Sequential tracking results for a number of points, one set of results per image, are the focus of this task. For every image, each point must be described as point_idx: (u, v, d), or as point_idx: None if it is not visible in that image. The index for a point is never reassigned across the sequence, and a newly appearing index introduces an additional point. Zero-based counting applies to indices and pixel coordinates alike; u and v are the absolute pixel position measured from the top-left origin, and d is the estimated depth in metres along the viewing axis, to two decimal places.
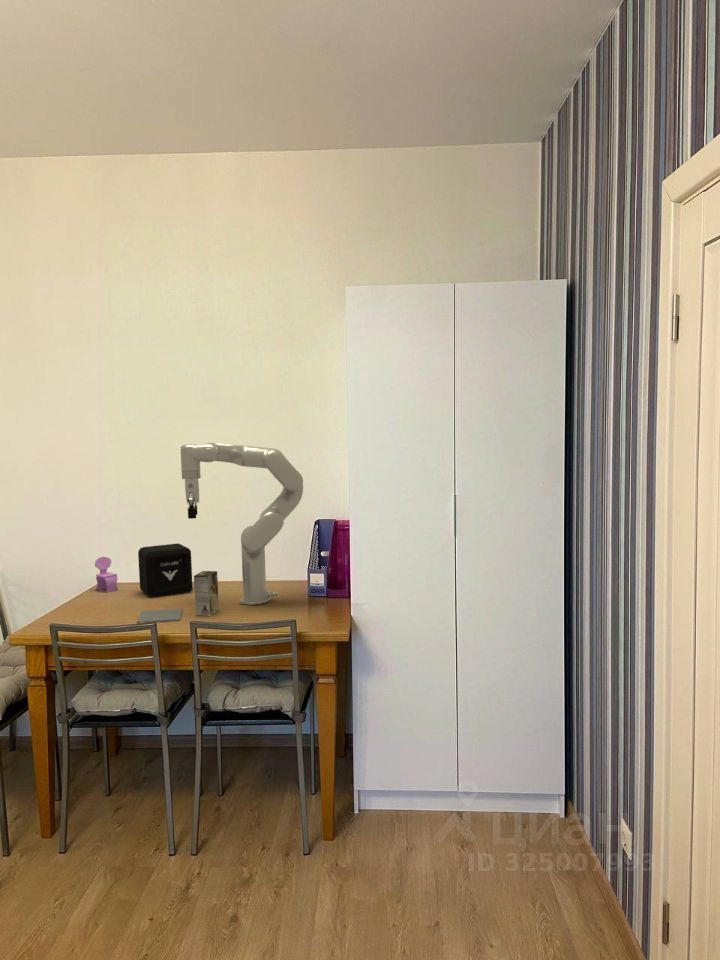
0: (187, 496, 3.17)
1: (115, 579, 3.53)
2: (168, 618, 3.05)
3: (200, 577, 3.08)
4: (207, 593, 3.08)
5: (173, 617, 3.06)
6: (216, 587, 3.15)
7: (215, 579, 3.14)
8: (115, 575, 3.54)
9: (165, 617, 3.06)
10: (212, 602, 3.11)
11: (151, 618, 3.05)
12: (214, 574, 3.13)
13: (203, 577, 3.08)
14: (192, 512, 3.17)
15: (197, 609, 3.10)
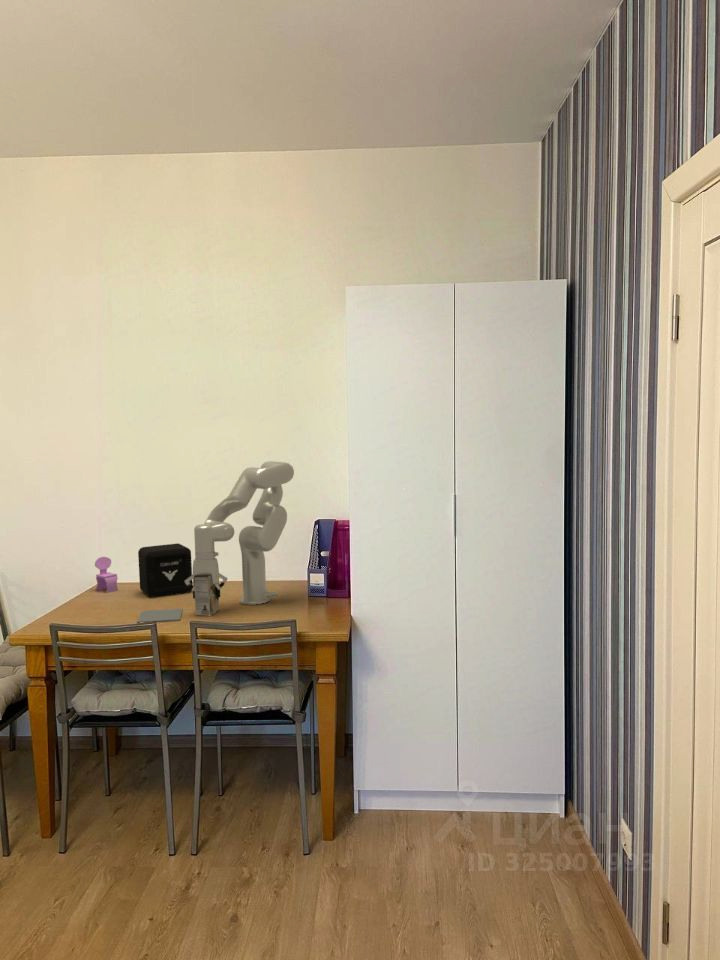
0: (218, 576, 3.12)
1: (115, 579, 3.53)
2: (168, 618, 3.05)
3: (200, 577, 3.08)
4: (207, 593, 3.08)
5: (173, 617, 3.06)
6: (216, 587, 3.15)
7: None
8: (115, 575, 3.54)
9: (165, 617, 3.06)
10: (212, 602, 3.11)
11: (151, 618, 3.05)
12: None
13: (203, 577, 3.08)
14: None
15: (197, 609, 3.10)
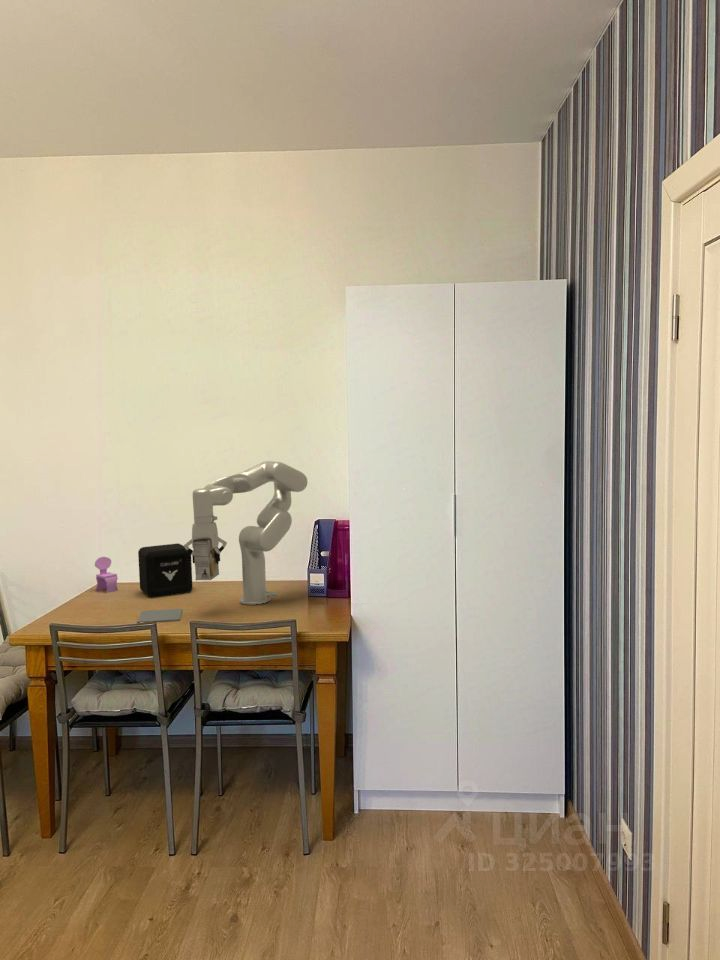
0: (217, 540, 3.10)
1: (115, 579, 3.53)
2: (168, 618, 3.05)
3: (199, 541, 3.07)
4: (207, 557, 3.07)
5: (173, 617, 3.06)
6: None
7: None
8: (115, 575, 3.54)
9: (165, 617, 3.06)
10: (212, 567, 3.10)
11: (151, 618, 3.05)
12: None
13: (202, 541, 3.06)
14: (219, 556, 3.13)
15: (197, 573, 3.09)
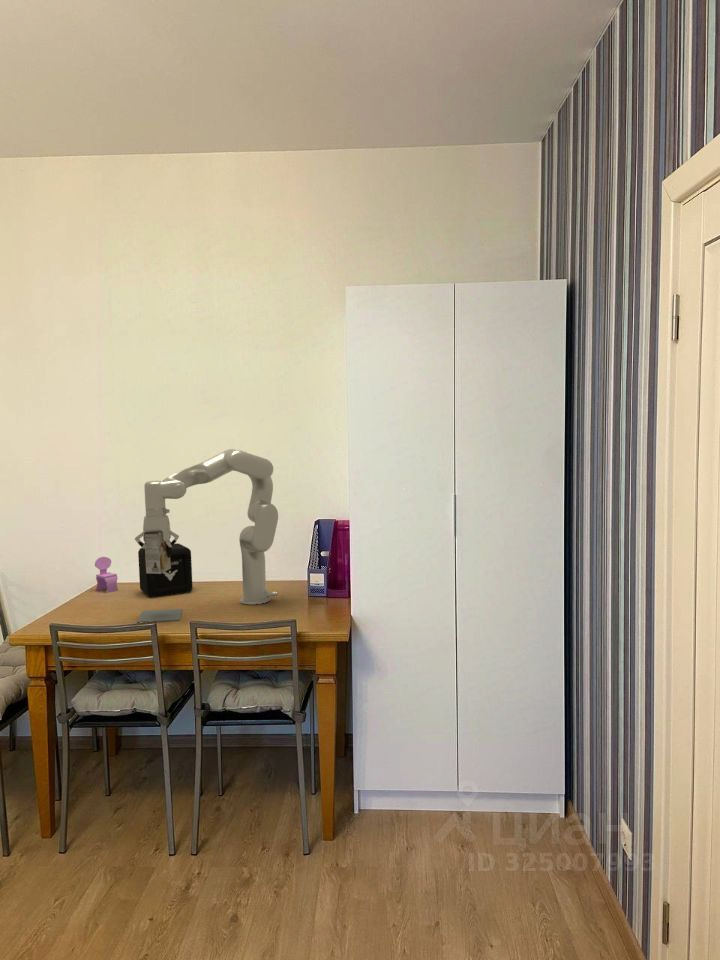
0: (169, 533, 3.06)
1: (115, 579, 3.53)
2: (168, 618, 3.05)
3: (150, 534, 3.02)
4: (157, 550, 3.03)
5: (173, 617, 3.06)
6: (167, 545, 3.09)
7: None
8: (115, 575, 3.54)
9: (165, 617, 3.06)
10: (163, 560, 3.05)
11: (151, 618, 3.05)
12: None
13: (153, 534, 3.02)
14: (171, 550, 3.09)
15: (147, 567, 3.04)
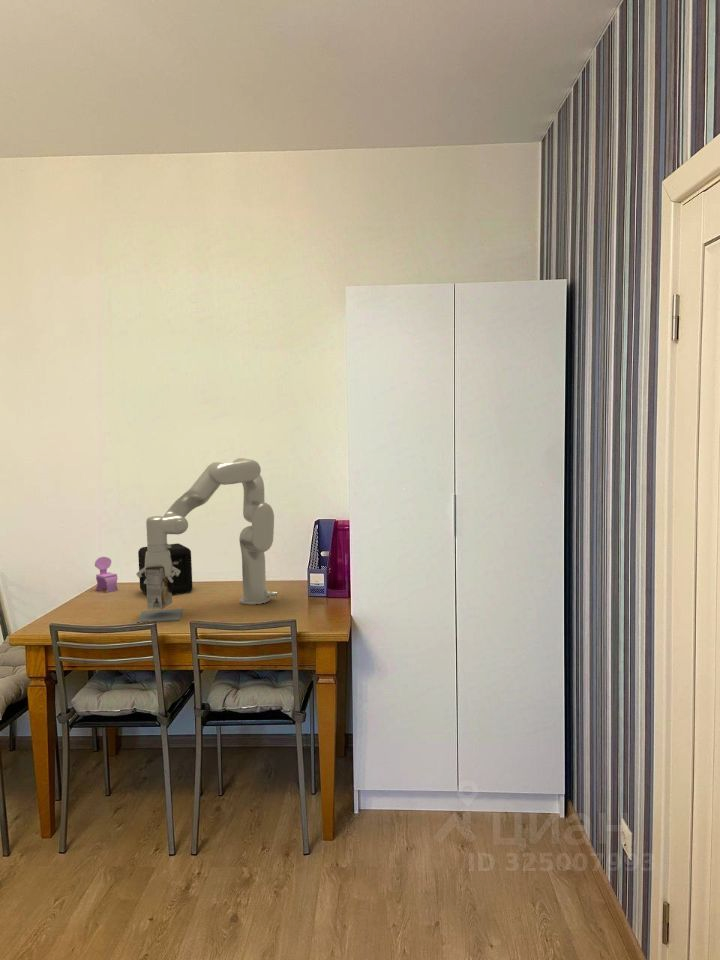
0: (170, 569, 3.08)
1: (115, 579, 3.53)
2: (168, 618, 3.05)
3: (152, 569, 3.04)
4: (159, 586, 3.04)
5: (173, 617, 3.06)
6: None
7: None
8: (115, 575, 3.54)
9: (165, 617, 3.06)
10: (164, 595, 3.07)
11: (151, 618, 3.05)
12: None
13: (155, 569, 3.04)
14: None
15: (149, 602, 3.06)
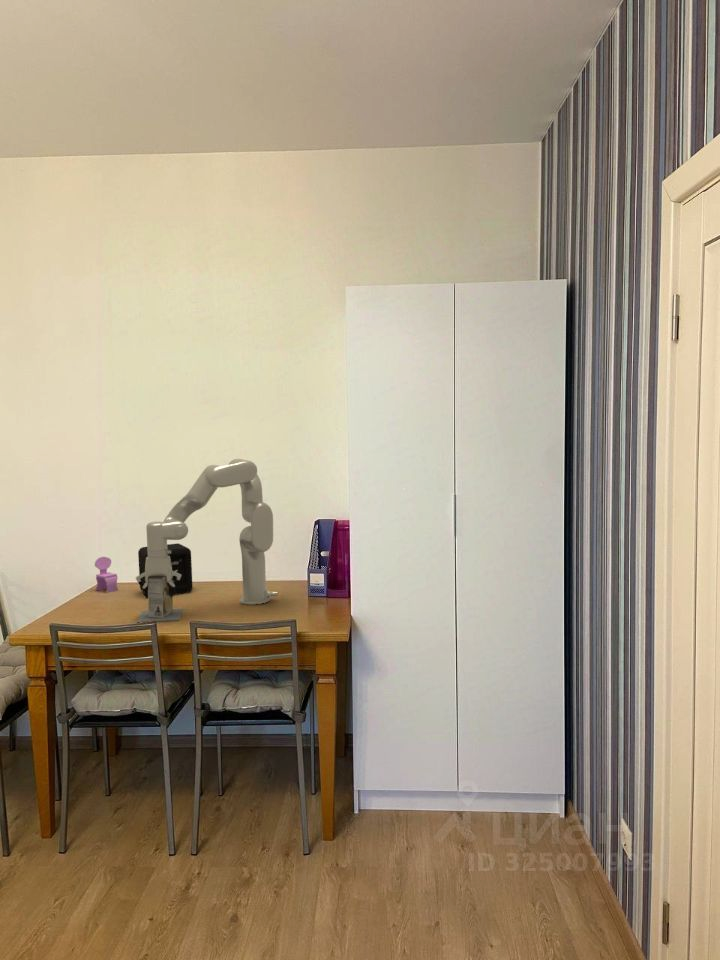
0: (171, 574, 3.08)
1: (115, 579, 3.53)
2: (168, 618, 3.05)
3: (154, 578, 3.04)
4: (161, 595, 3.04)
5: (173, 617, 3.06)
6: (170, 588, 3.11)
7: None
8: (115, 575, 3.54)
9: (165, 617, 3.06)
10: (166, 604, 3.07)
11: (151, 618, 3.05)
12: None
13: (157, 578, 3.04)
14: (174, 589, 3.10)
15: (150, 611, 3.06)
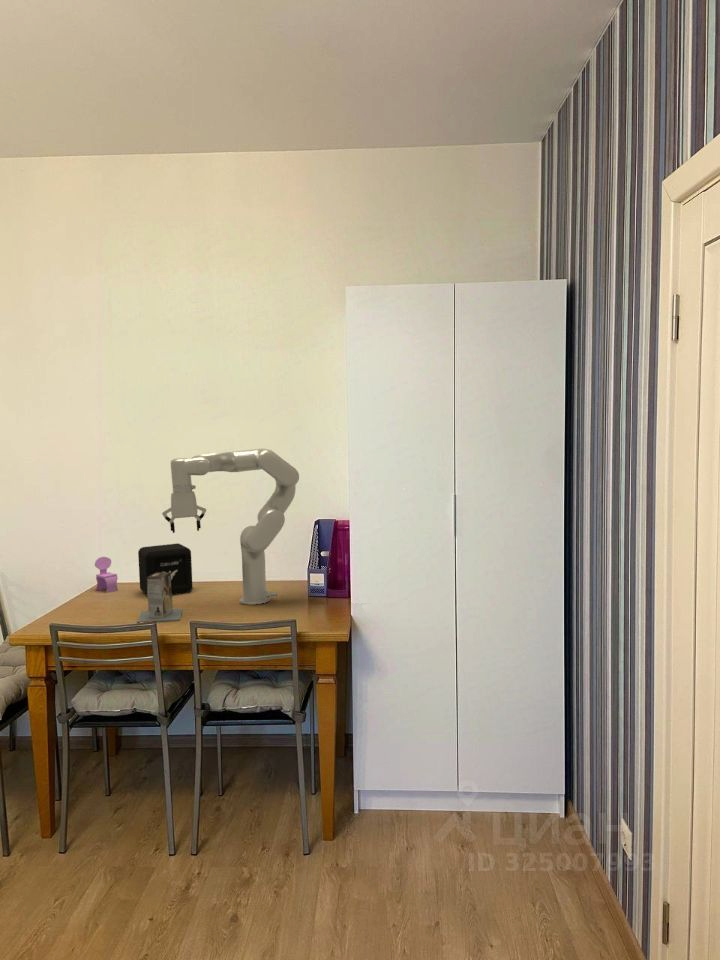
0: (196, 508, 3.17)
1: (115, 579, 3.53)
2: (168, 618, 3.05)
3: (153, 578, 3.04)
4: (160, 595, 3.05)
5: (173, 617, 3.06)
6: (170, 588, 3.11)
7: (168, 580, 3.10)
8: (115, 575, 3.54)
9: (165, 617, 3.06)
10: (165, 604, 3.07)
11: (151, 618, 3.05)
12: (167, 575, 3.09)
13: (156, 578, 3.04)
14: None
15: (150, 611, 3.06)
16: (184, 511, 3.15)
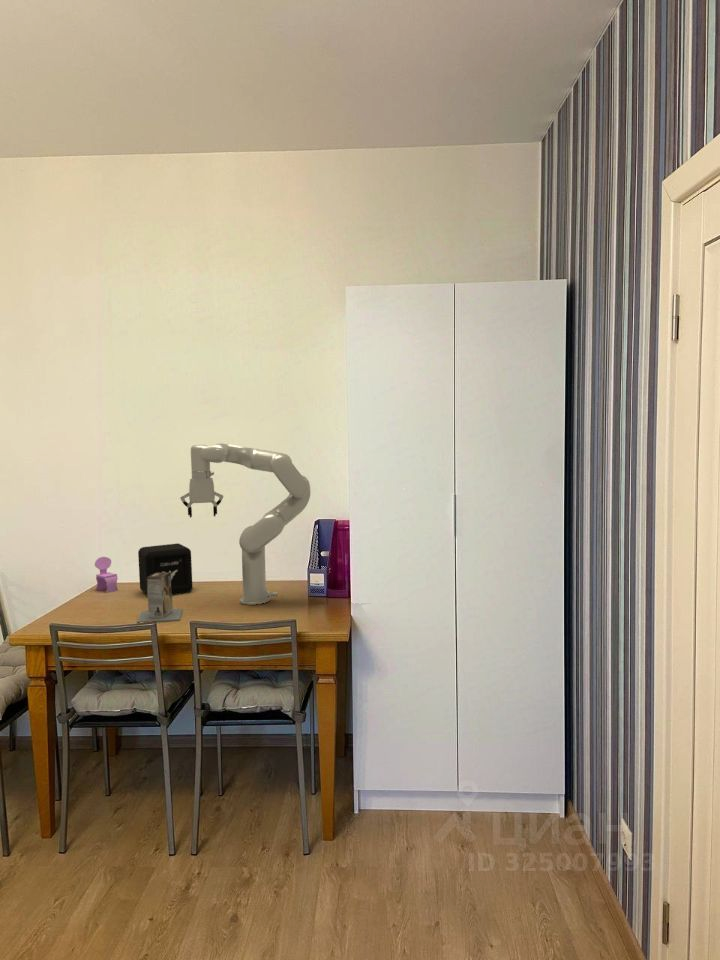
0: (213, 495, 3.24)
1: (115, 579, 3.53)
2: (168, 618, 3.05)
3: (153, 578, 3.04)
4: (160, 595, 3.05)
5: (173, 617, 3.06)
6: (170, 588, 3.11)
7: (168, 580, 3.10)
8: (115, 575, 3.54)
9: (165, 617, 3.06)
10: (165, 604, 3.07)
11: (151, 618, 3.05)
12: (167, 575, 3.09)
13: (156, 578, 3.04)
14: None
15: (150, 611, 3.06)
16: (201, 497, 3.23)
